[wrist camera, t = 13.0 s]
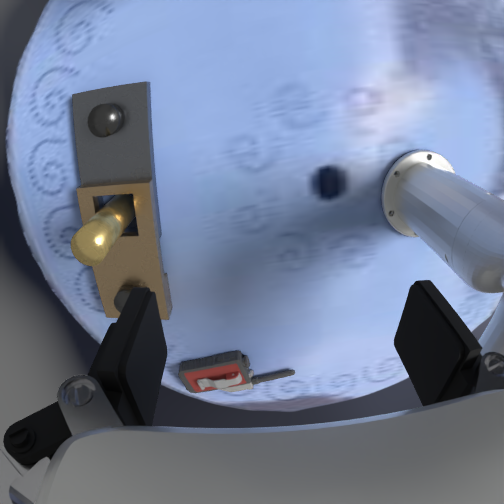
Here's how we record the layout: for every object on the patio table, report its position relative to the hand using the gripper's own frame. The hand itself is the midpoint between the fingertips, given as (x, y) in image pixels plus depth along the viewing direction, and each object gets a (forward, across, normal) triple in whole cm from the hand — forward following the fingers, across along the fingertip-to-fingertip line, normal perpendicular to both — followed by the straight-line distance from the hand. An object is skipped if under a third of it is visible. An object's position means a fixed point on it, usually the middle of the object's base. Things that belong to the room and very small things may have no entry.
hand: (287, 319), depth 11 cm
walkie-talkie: (+31, +4, +36) cm, 47 cm away
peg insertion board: (+30, +17, +6) cm, 35 cm away
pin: (+30, +17, +6) cm, 35 cm away
